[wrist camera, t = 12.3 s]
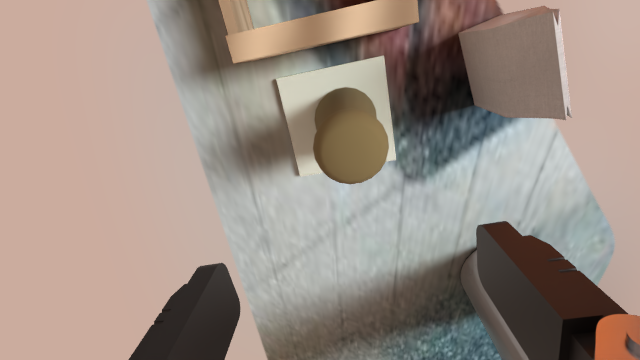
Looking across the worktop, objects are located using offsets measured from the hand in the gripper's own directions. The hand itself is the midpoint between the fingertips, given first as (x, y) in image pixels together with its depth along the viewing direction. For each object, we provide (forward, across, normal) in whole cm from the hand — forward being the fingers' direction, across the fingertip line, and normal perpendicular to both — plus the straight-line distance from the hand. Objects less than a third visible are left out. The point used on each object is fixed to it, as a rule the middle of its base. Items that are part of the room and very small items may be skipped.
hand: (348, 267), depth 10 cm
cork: (+22, -1, 0) cm, 22 cm away
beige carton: (+23, -14, -3) cm, 27 cm away
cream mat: (+22, 0, 0) cm, 23 cm away
